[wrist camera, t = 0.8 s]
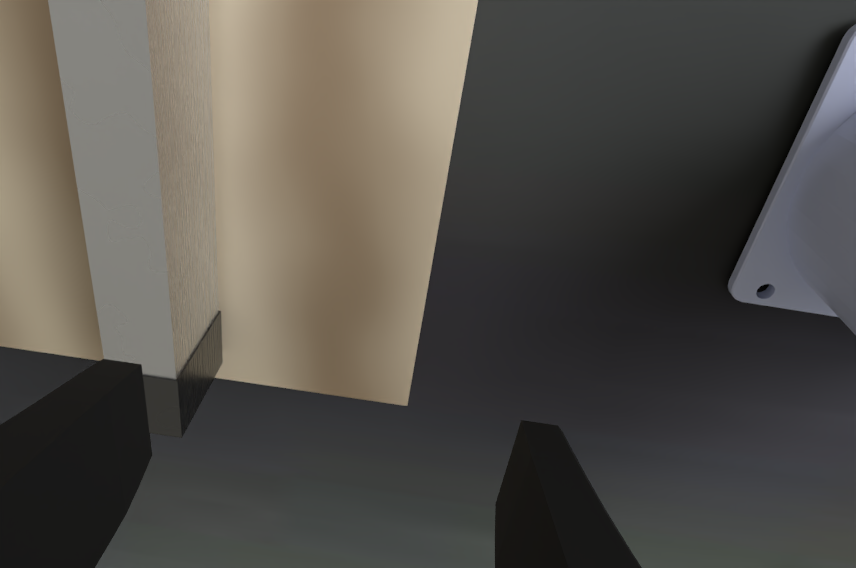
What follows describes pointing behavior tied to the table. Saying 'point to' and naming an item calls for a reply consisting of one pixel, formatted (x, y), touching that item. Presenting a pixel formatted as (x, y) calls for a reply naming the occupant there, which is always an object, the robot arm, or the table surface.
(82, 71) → the lever
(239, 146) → the cracker board
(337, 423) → the table surface
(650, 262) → the table surface
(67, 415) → the robot arm
